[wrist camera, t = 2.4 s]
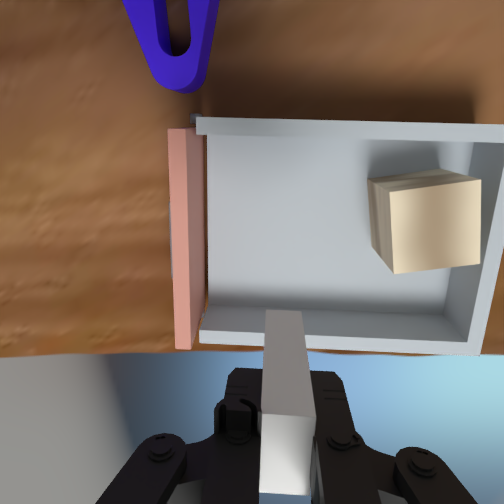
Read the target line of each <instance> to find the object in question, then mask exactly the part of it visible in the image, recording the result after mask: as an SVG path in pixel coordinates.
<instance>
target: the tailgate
mask: <svg viewBox="0 0 504 504" xmlns="http://www.w3.org/2000/svg"><path fill="white" fill-rule="evenodd" d="M168 156H169V183H170V201H169V223H170V249H171V276H172V278H173V293H174V321H175V348H176V349H191V348H192V345H193V342H194V339H195V335H196V332H197V329H198V326H199V323H200V320H201V317H202V314H203V311H204V308H205V230H204V139H203V135H196V128H192V127H188V128H169V129H168Z"/></svg>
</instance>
